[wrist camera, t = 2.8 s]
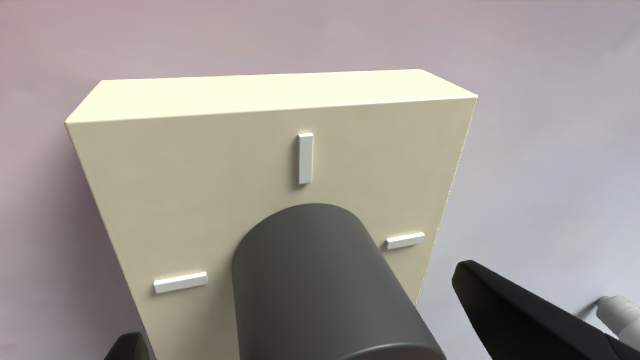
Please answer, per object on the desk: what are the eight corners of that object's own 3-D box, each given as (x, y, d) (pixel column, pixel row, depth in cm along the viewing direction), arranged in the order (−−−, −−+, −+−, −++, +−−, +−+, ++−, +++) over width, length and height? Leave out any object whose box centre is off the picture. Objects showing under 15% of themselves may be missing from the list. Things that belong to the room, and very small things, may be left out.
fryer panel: (382, 269, 17) (414, 323, 14) (171, 313, 14) (164, 388, 12) (422, 68, 12) (484, 97, 9) (99, 80, 9) (58, 124, 6)
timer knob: (238, 318, 11) (257, 506, 7) (223, 214, 9) (238, 408, 5) (360, 291, 12) (432, 441, 8) (375, 192, 10) (485, 337, 6)
